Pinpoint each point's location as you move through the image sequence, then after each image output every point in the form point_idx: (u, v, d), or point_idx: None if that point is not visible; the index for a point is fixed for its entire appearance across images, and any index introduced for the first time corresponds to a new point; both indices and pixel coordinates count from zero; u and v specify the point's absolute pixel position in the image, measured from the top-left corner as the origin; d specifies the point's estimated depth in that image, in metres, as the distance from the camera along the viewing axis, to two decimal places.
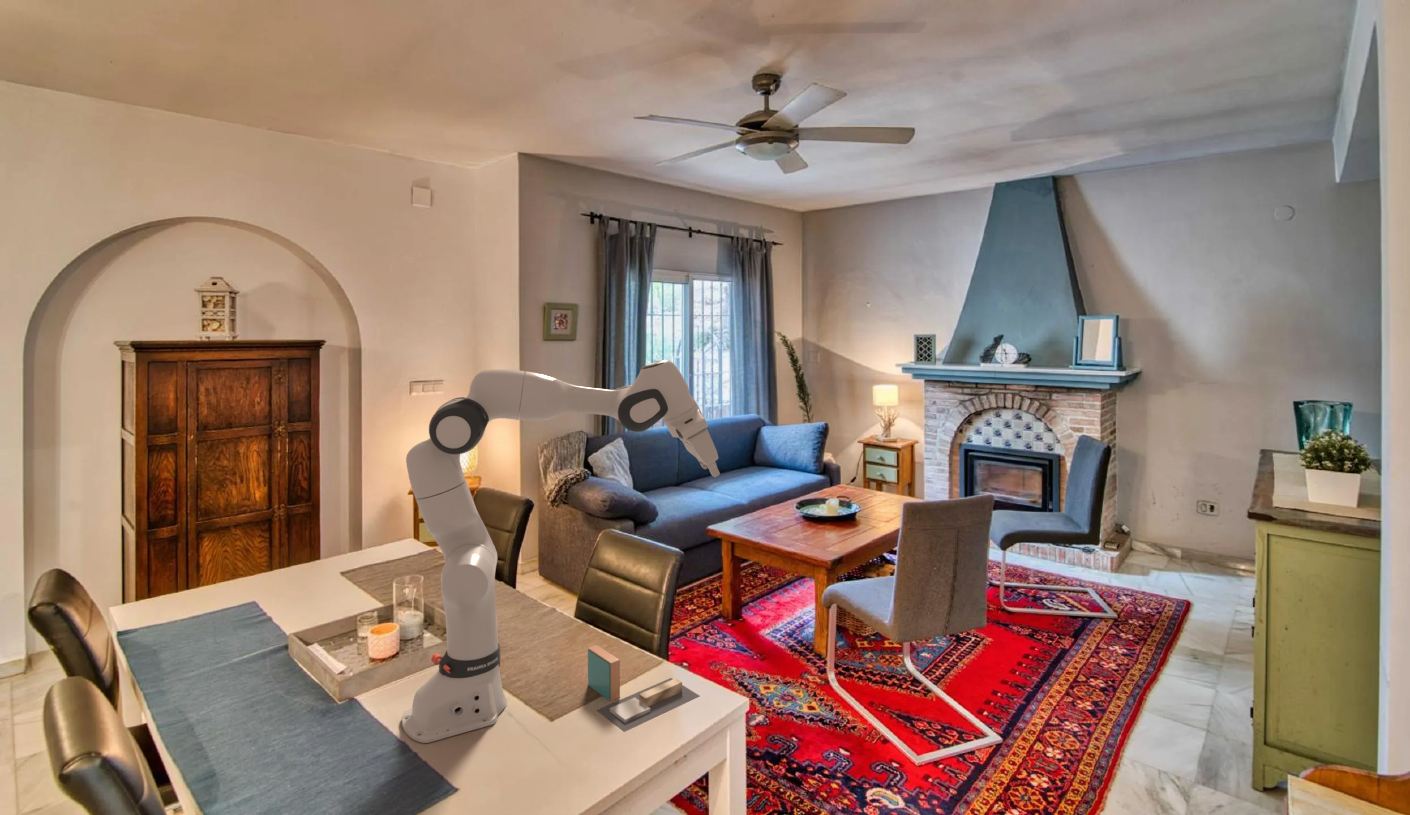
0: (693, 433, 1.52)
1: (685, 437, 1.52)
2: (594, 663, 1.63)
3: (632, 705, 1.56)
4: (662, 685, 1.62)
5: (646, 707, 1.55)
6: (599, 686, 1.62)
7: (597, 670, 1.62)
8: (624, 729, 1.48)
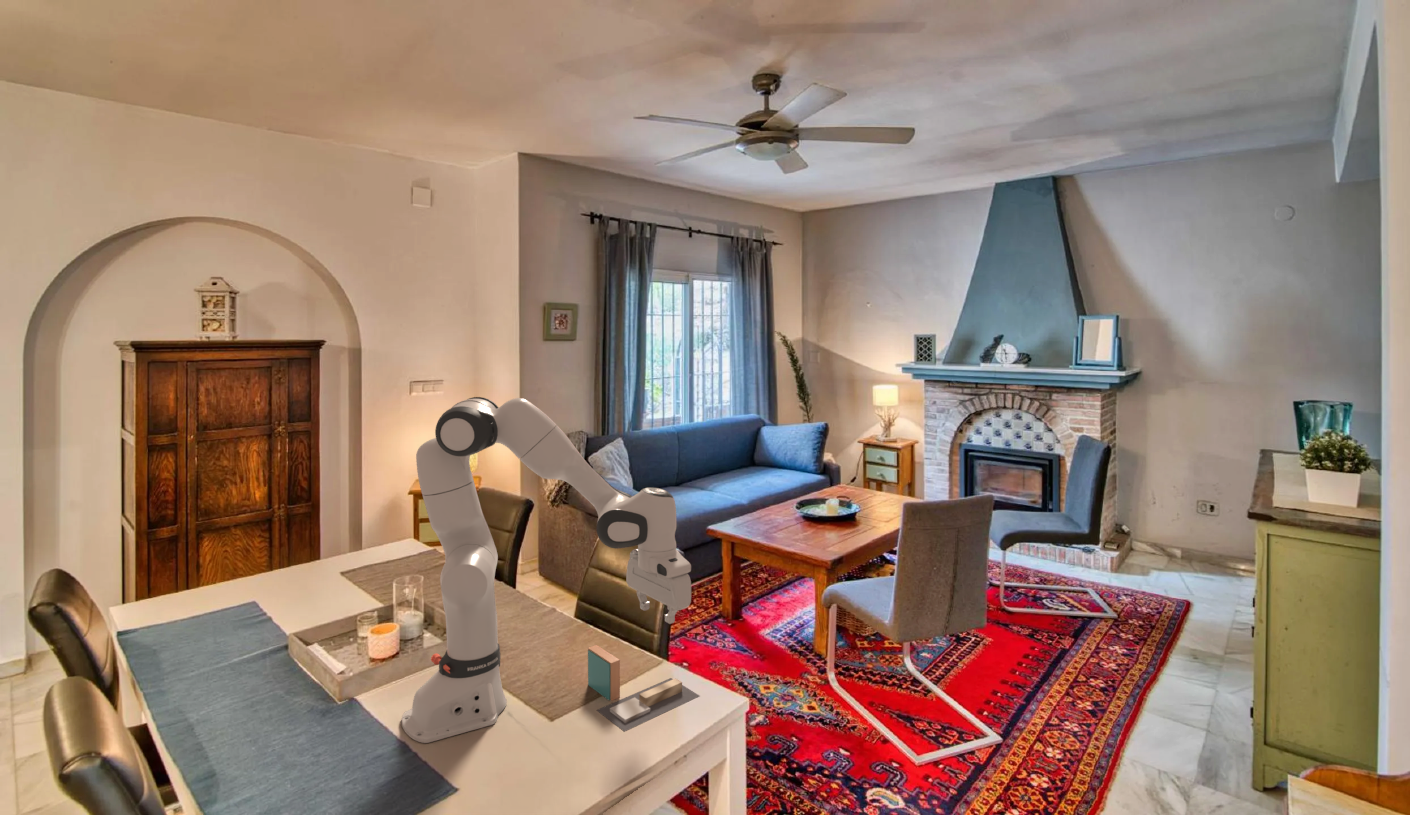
0: (678, 574, 1.49)
1: (671, 576, 1.48)
2: (594, 663, 1.63)
3: (632, 705, 1.56)
4: (662, 685, 1.62)
5: (646, 707, 1.55)
6: (599, 686, 1.62)
7: (597, 670, 1.62)
8: (624, 729, 1.48)
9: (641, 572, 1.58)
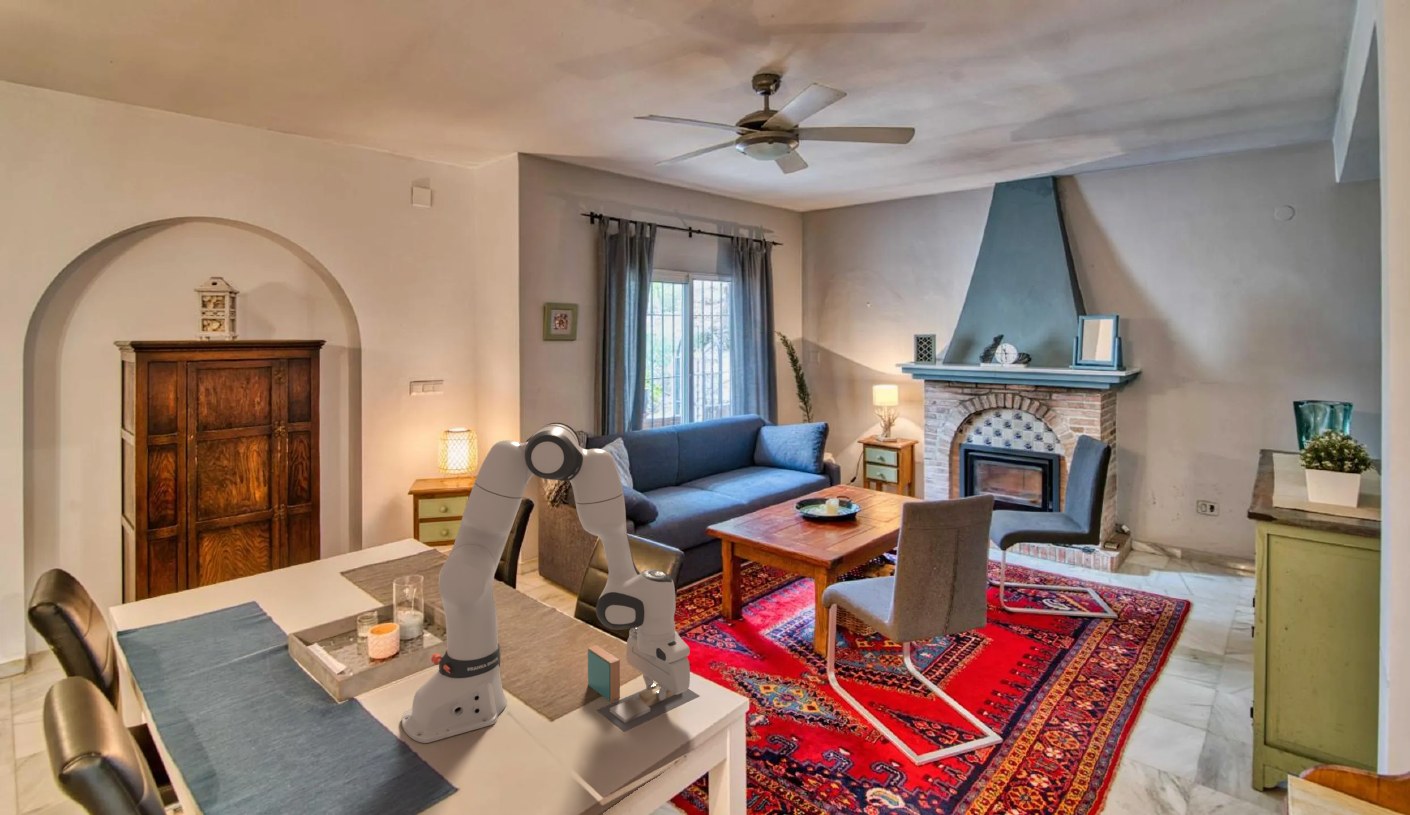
0: (677, 659, 1.51)
1: (670, 661, 1.50)
2: (594, 663, 1.63)
3: (632, 705, 1.56)
4: None
5: (646, 707, 1.55)
6: (599, 686, 1.62)
7: (597, 670, 1.62)
8: (624, 729, 1.48)
9: (640, 652, 1.61)
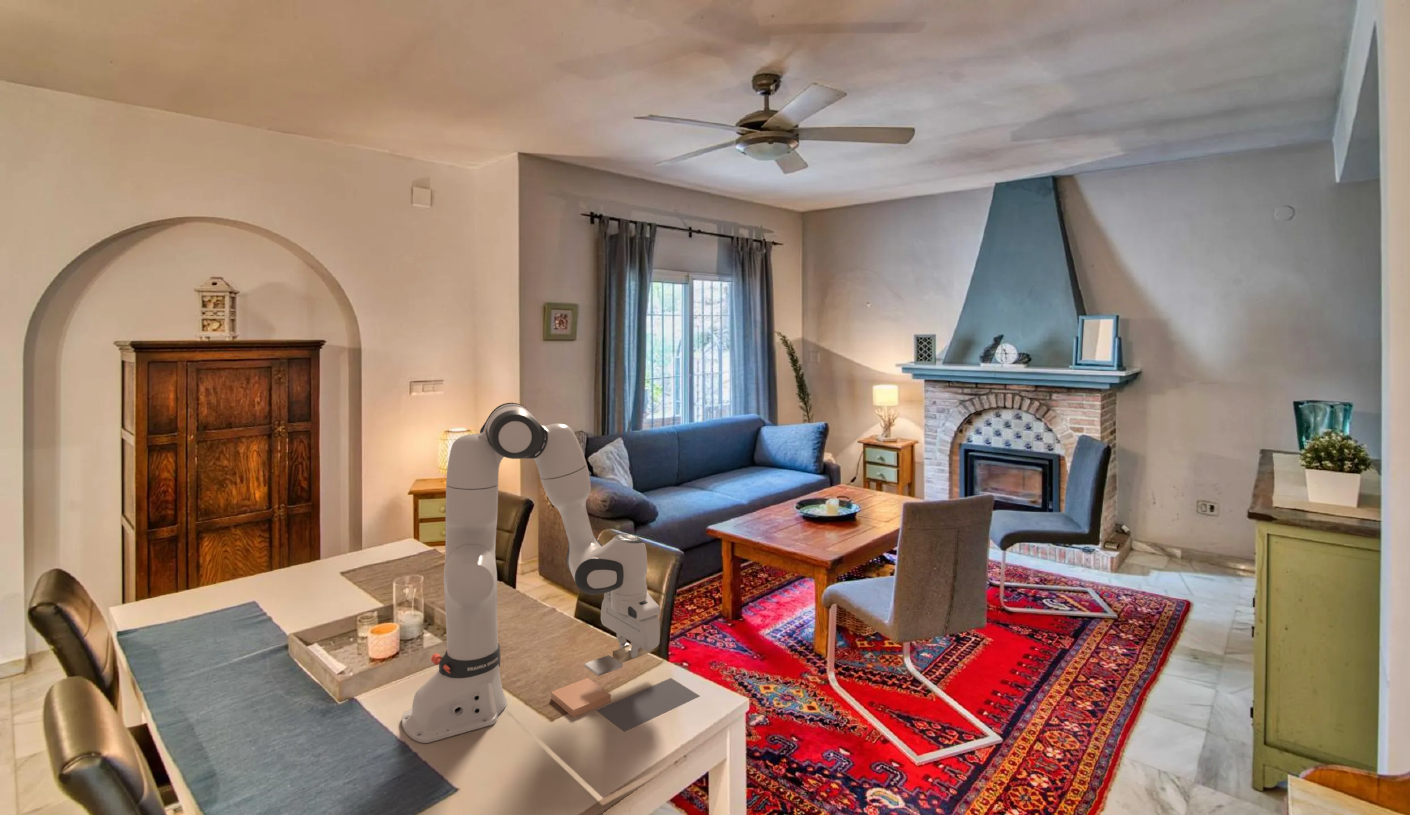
0: (648, 617, 1.60)
1: (640, 618, 1.58)
2: None
3: (605, 661, 1.64)
4: None
5: (618, 663, 1.63)
6: None
7: None
8: (624, 729, 1.48)
9: (614, 612, 1.69)
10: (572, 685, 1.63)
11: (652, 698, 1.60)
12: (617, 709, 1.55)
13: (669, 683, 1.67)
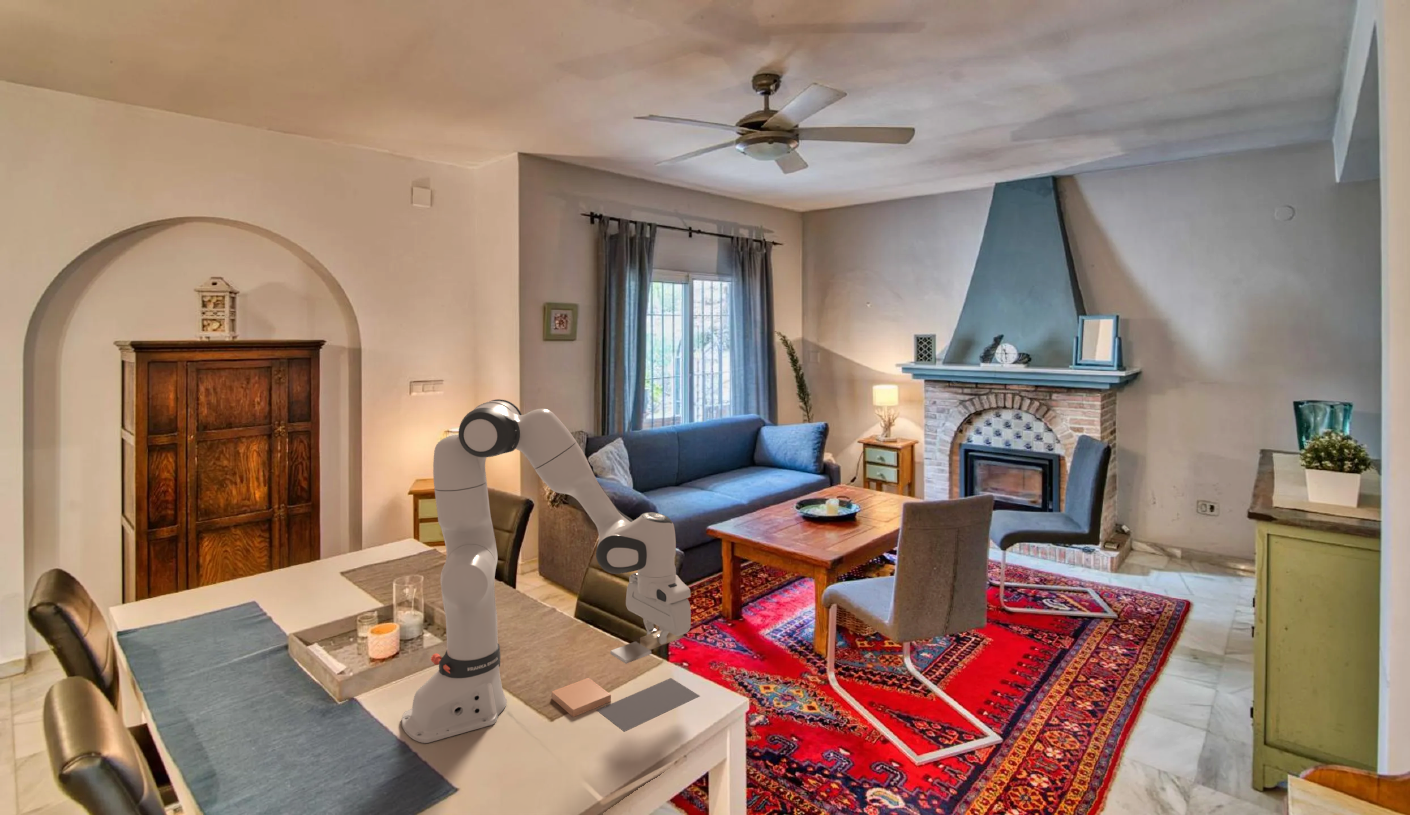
0: (678, 600, 1.50)
1: (670, 602, 1.49)
2: None
3: (633, 648, 1.54)
4: None
5: (647, 650, 1.53)
6: None
7: None
8: (624, 729, 1.48)
9: (641, 596, 1.59)
10: (573, 685, 1.63)
11: (652, 698, 1.60)
12: (617, 709, 1.55)
13: (669, 683, 1.67)
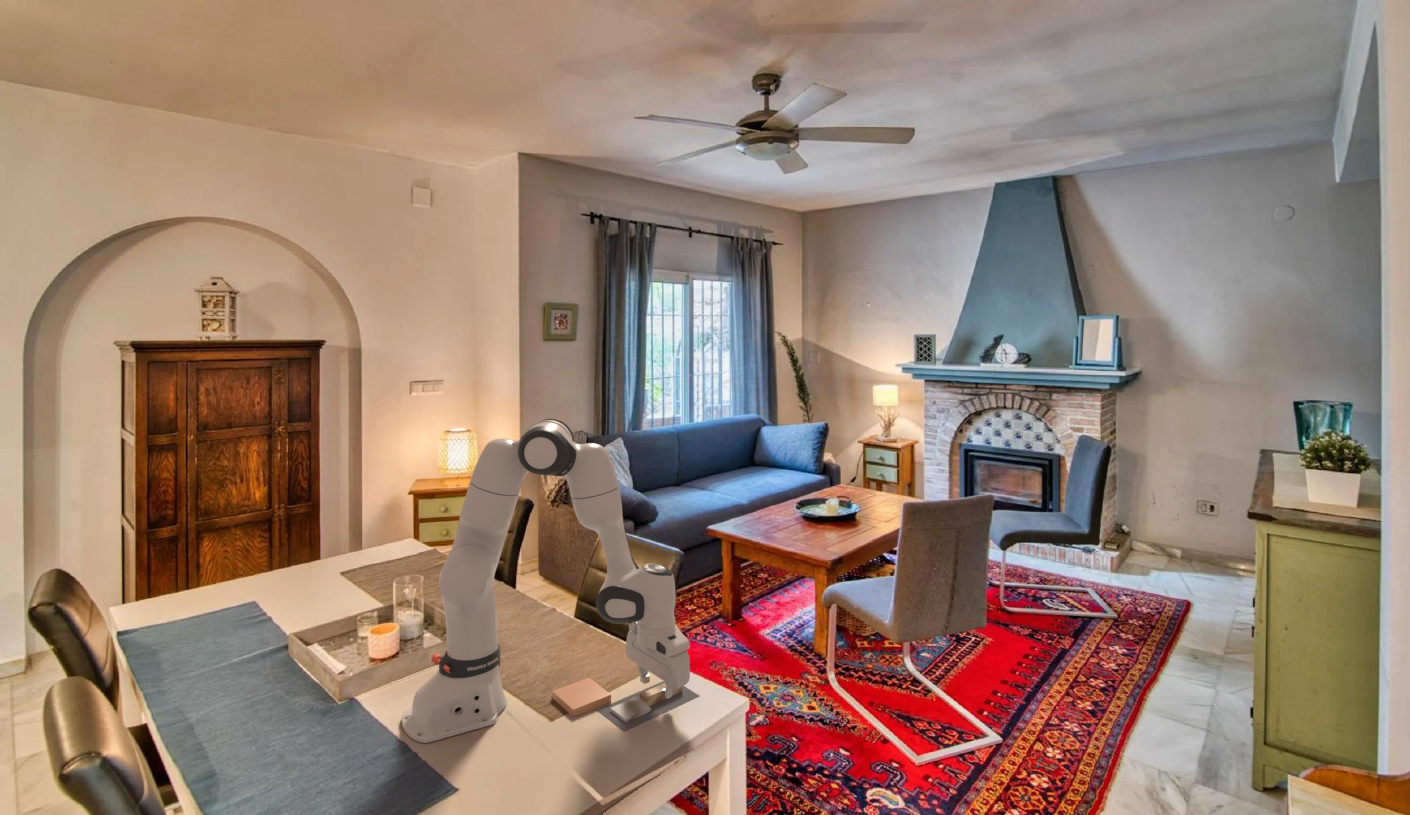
0: (677, 652, 1.51)
1: (670, 655, 1.50)
2: None
3: (632, 705, 1.56)
4: (662, 685, 1.62)
5: (646, 707, 1.55)
6: None
7: None
8: (624, 729, 1.48)
9: (640, 646, 1.60)
10: (573, 684, 1.63)
11: None
12: None
13: None
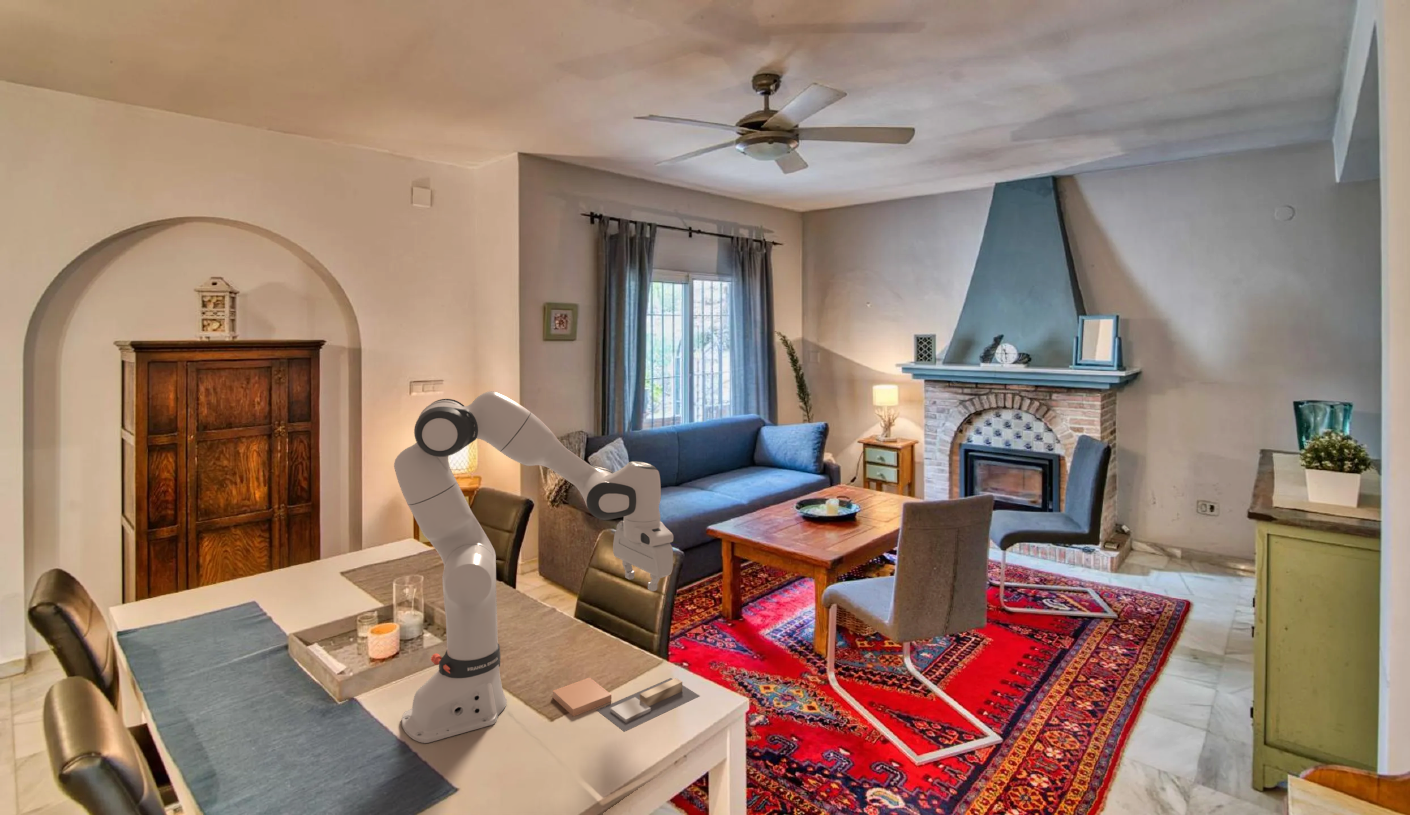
0: (661, 543, 1.56)
1: (653, 544, 1.55)
2: None
3: (632, 705, 1.56)
4: (662, 685, 1.62)
5: (646, 707, 1.55)
6: None
7: None
8: (624, 729, 1.48)
9: (626, 542, 1.66)
10: (574, 684, 1.63)
11: None
12: None
13: None
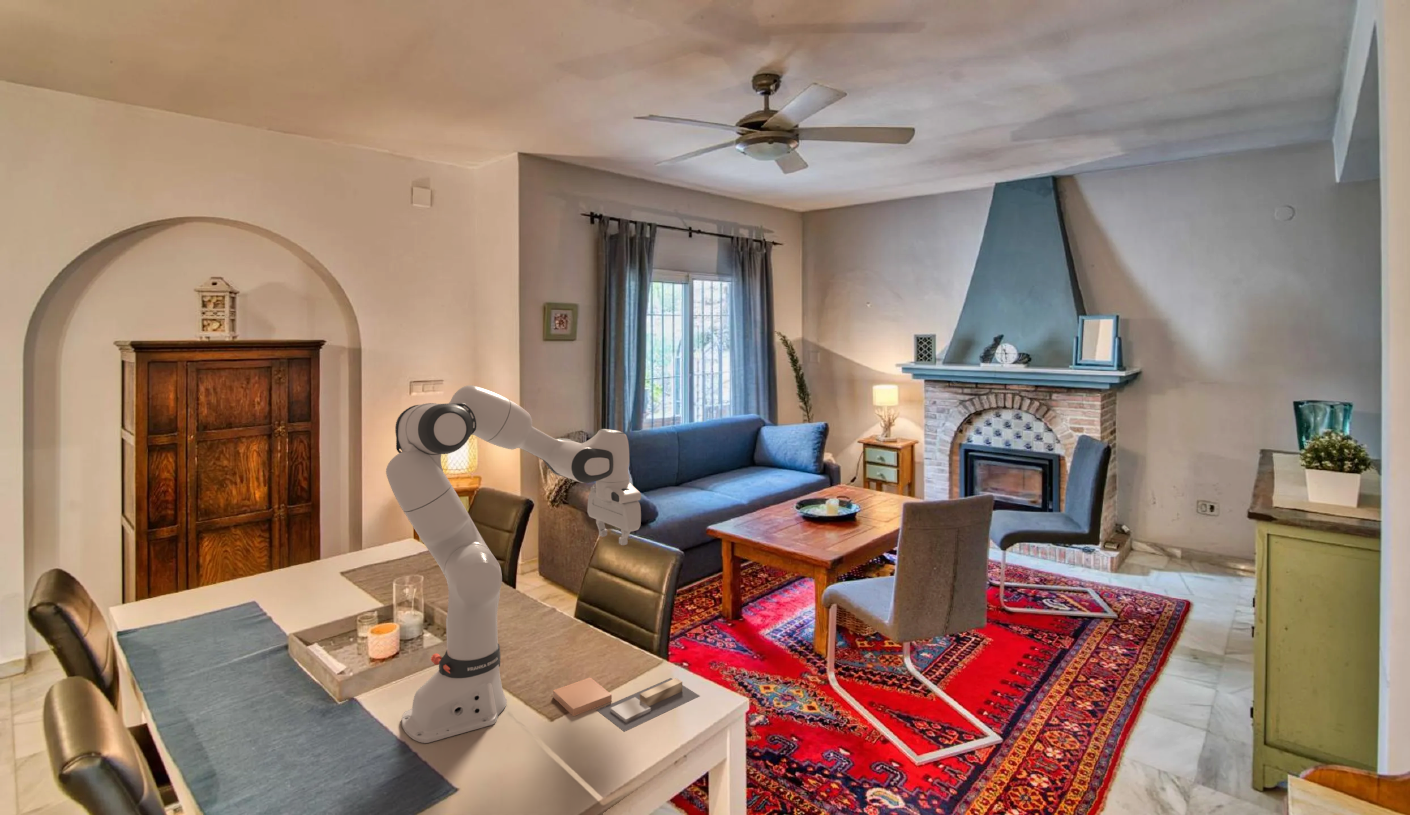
0: (629, 500, 1.73)
1: (622, 501, 1.72)
2: None
3: (632, 705, 1.56)
4: (662, 685, 1.62)
5: (646, 707, 1.55)
6: None
7: None
8: (624, 729, 1.48)
9: (599, 502, 1.82)
10: (574, 684, 1.63)
11: None
12: None
13: None
